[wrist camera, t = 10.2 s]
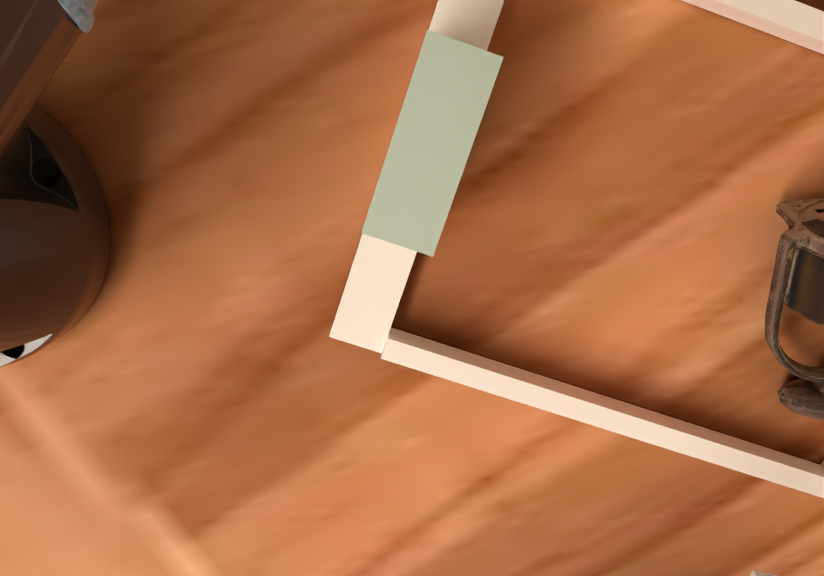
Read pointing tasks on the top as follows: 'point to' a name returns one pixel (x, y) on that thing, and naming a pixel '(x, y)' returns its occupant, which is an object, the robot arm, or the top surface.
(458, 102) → the light grey frame
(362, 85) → the top surface
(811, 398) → the brown spool with wire
